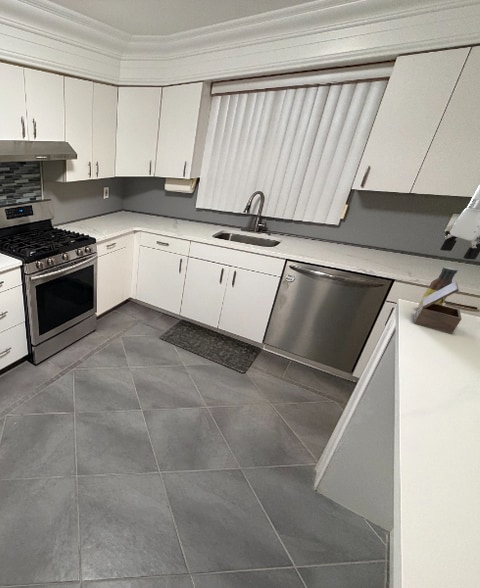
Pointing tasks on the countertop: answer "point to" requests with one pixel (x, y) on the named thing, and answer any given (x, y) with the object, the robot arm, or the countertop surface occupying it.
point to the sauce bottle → (440, 283)
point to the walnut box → (438, 317)
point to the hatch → (440, 294)
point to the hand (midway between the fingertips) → (456, 254)
